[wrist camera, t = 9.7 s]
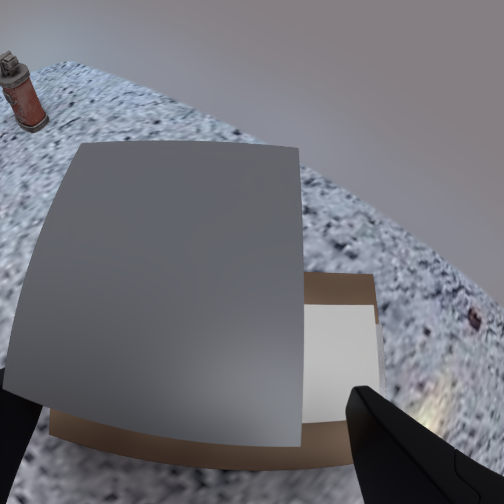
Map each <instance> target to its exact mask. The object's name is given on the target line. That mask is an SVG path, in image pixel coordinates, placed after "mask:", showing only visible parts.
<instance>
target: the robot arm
mask: <svg viewBox="0 0 504 504" xmlns="http://www.w3.org/2000/svg"><path fill="white" fill-rule="evenodd" d="M4 372H5V368H2V369H0V504H6V502H7V499H8V496H9V493H10V490H11V487H12V485H13V482H14V479H15V476H16V474H17V471H18V468H19V466H20V463H21V461H22V458H23V456H24V453H25V451H26V448H27V446H28V444H29V441H30V439H31V437H32V434H33V432H34V430H35V427H36V425H37V422H38V419H39V416H40V413H41V410H42V407H43V405H41V404H38V403H36V402H33V401H30V400H28V399H25V398H23V397H21V396H18V395H16V394H13V393H11V392H9V391H7V390H4V389H2V388H3V380H4ZM345 415H346V421H347V428H348V434H349V440H350V447H351V454H352V459H353V463H354V467H355V470H356V474H357V478H358V481H359V485H360V489H361V492H362V496H363V500H364V503H365V504H504V476H502V475H500V474H498V473H496V472H494V471H492V470H490V469H488V468H486V467H484V466H483V465H481V464H479V463H477V462H476V461H474V460H473V459H471V458H470V457H468V456H466V455H465V454H463V453H462V452H460V451H459V450H457V449H455V448H454V447H453V446H451V445H450V444H449V443H447V442H446V441H444V440H443V439H441V438H440V437H438V436H437V435H436V434H434V433H433V432H431V431H430V430H429V429H427V428H426V427H424V426H423V425H421V424H420V423H419V422H417V421H416V420H414V419H413V418H412V417H410V416H409V415H407V414H406V413H405V412H403V411H402V410H401V409H399V408H398V407H396V406H395V405H394V404H392V403H391V402H390V401H388V400H387V399H385V398H384V397H383V396H381V395H380V394H379V393H377V392H376V391H375V390H373V389H372V388H371V387H369V386H367V385H362V386H354V387H353V388H352V390H351V393H350V396H349V399H348V402H347V405H346V409H345Z"/></svg>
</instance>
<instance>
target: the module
mask: <svg viewBox="0 0 504 504" xmlns="http://www.w3.org/2000/svg"><path fill="white" fill-rule="evenodd" d="M303 372H304V262H303V227H302V202H301V182H300V164H299V150H298V148H293V147H283V146H273V145H261V144H248V143H232V142H212V141H116V142H96V143H81V145H80V147H79V149H78V151H77V152H76V154H75V156H74V158H73V160H72V162H71V164H70V166H69V168H68V170H67V172H66V174H65V176H64V178H63V180H62V182H61V185H60V187H59V189H58V191H57V193H56V195H55V198H54V200H53V202H52V205H51V207H50V209H49V212H48V214H47V217H46V219H45V222H44V224H43V227H42V229H41V232H40V235H39V237H38V240H37V243H36V245H35V248H34V251H33V254H32V257H31V260H30V263H29V266H28V269H27V273H26V276H25V279H24V283H23V286H22V290H21V293H20V297H19V301H18V305H17V309H16V313H15V317H14V322H13V326H12V331H11V336H10V341H9V346H8V352H7V358H6V365H5V372H4V380H3V388H2V389H4V390H7V391H9V392H11V393H13V394H16V395H18V396H21V397H23V398H25V399H28V400H30V401H33V402H36V403H38V404H41V405H44V406H46V407H49V408H52V409H55V410H58V411H61V412H64V413H67V414H70V415H73V416H76V417H80V418H83V419H86V420H90V421H93V422H97V423H101V424H105V425H109V426H113V427H117V428H121V429H125V430H130V431H135V432H139V433H144V434H150V435H155V436H161V437H167V438H173V439H180V440H187V441H195V442H204V443H214V444H225V445H240V446H263V447H300V446H301V429H302V406H303Z"/></svg>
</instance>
